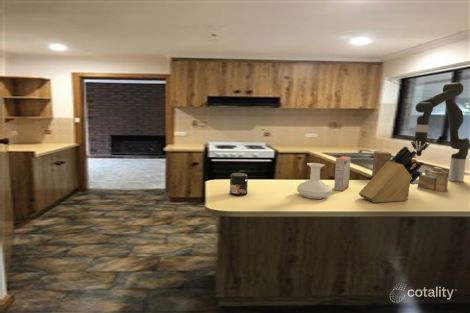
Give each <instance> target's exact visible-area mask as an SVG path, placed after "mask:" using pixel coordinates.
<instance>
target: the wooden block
mask: <svg viewBox="0 0 470 313" xmlns="http://www.w3.org/2000/svg"><path fill="white" fill-rule="evenodd" d="M391 160H392V153H390V152H389V151H376V150H375V151H374V152H373V161H372V170H371V171H372V172H371V177H372V178H373V177H374V176H375V175H376V174H377V172H378V171H379V170H380V169H381V168H382V167H383V166H384V165H385V164H386V163H387V162H388V161H390V162H391Z"/></svg>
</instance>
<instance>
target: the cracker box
mask: <svg viewBox="0 0 470 313" xmlns="http://www.w3.org/2000/svg"><path fill="white" fill-rule="evenodd" d="M351 158H352V157H351V156H345V155H343V156H340V157H337V158H335V166H334V167H335V168H334V169H335V170H334V187H333V190H334V191H338V192H344V191H345V190H346V189H348V188H349V186H350V173H351V171H350V170H351Z"/></svg>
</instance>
